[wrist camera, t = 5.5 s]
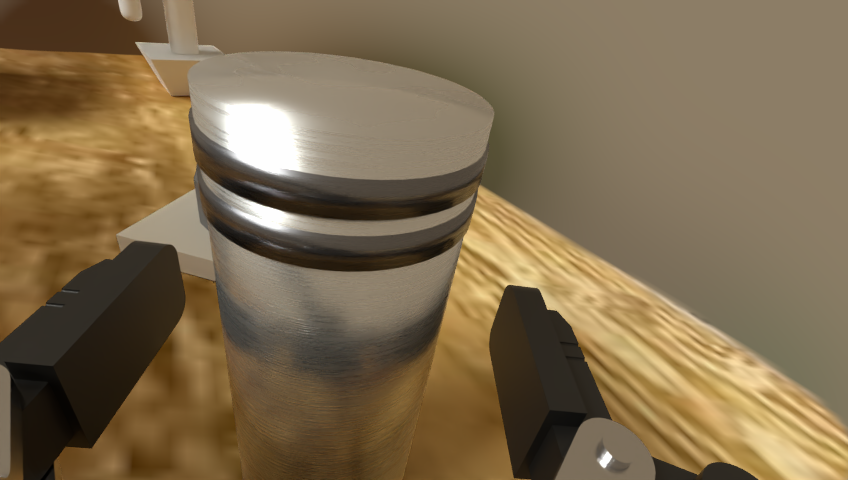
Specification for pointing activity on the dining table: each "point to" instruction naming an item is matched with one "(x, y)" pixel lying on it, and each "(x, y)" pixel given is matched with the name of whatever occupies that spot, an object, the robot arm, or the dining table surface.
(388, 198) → the piston
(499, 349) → the robot arm
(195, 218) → the ring stand
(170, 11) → the figurine
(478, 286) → the dining table surface
